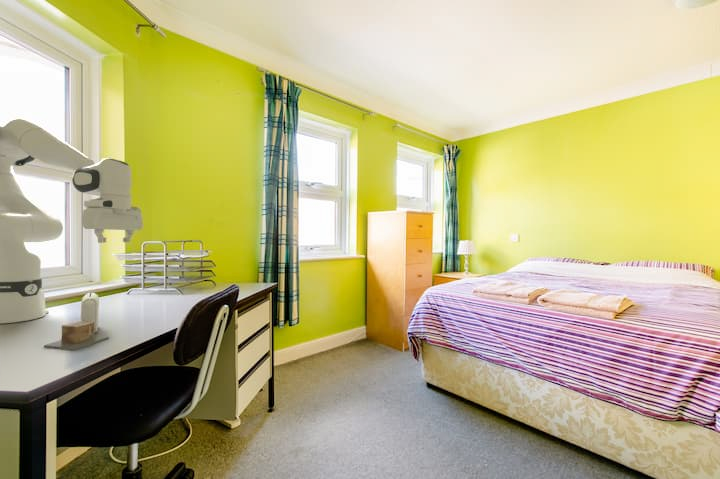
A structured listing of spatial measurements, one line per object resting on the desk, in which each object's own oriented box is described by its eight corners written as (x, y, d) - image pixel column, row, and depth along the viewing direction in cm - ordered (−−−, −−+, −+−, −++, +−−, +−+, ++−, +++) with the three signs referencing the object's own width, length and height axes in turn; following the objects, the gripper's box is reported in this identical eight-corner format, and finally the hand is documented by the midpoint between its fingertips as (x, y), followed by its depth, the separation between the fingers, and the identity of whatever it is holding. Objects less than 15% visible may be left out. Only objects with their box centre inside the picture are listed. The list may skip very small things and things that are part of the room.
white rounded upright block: (82, 327, 103) (82, 291, 103) (98, 325, 106) (99, 290, 106) (79, 336, 95) (80, 296, 95) (97, 333, 98) (98, 295, 98)
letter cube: (61, 342, 88) (61, 325, 87) (79, 337, 92) (80, 320, 92) (76, 344, 87) (76, 326, 87) (94, 338, 92) (94, 322, 92)
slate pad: (43, 347, 85) (43, 345, 85) (81, 335, 95) (81, 334, 95) (73, 350, 84) (73, 348, 84) (108, 338, 94) (108, 336, 94)
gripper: (133, 207, 120) (132, 241, 120) (78, 200, 100) (77, 242, 100) (147, 207, 119) (146, 242, 119) (95, 201, 99) (94, 243, 99)
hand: (114, 242), depth 109 cm, fingers open, 8 cm apart
